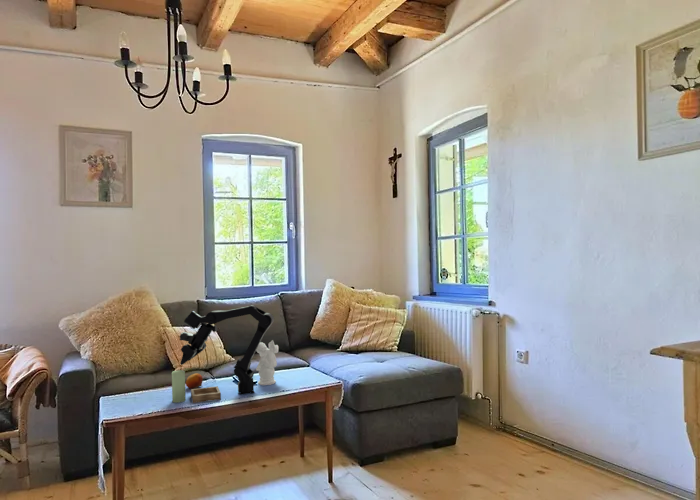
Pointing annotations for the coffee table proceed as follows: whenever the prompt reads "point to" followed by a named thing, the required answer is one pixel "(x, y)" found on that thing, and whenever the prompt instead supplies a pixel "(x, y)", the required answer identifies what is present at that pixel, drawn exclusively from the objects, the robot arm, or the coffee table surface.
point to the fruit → (194, 381)
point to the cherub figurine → (267, 363)
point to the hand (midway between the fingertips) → (184, 362)
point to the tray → (205, 394)
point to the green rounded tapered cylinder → (178, 386)
